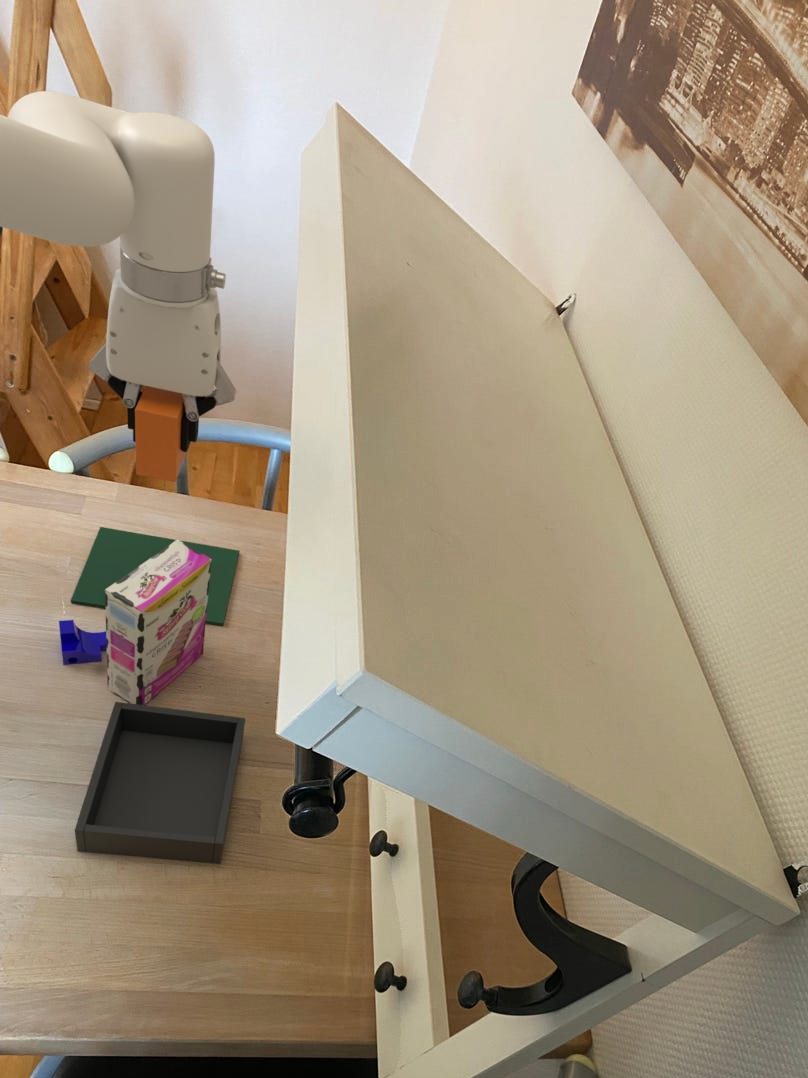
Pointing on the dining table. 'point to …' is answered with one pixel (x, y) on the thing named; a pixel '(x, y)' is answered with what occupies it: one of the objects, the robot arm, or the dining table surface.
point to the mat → (129, 550)
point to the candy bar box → (156, 622)
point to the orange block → (159, 434)
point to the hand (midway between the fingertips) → (163, 438)
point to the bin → (162, 785)
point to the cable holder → (80, 644)
